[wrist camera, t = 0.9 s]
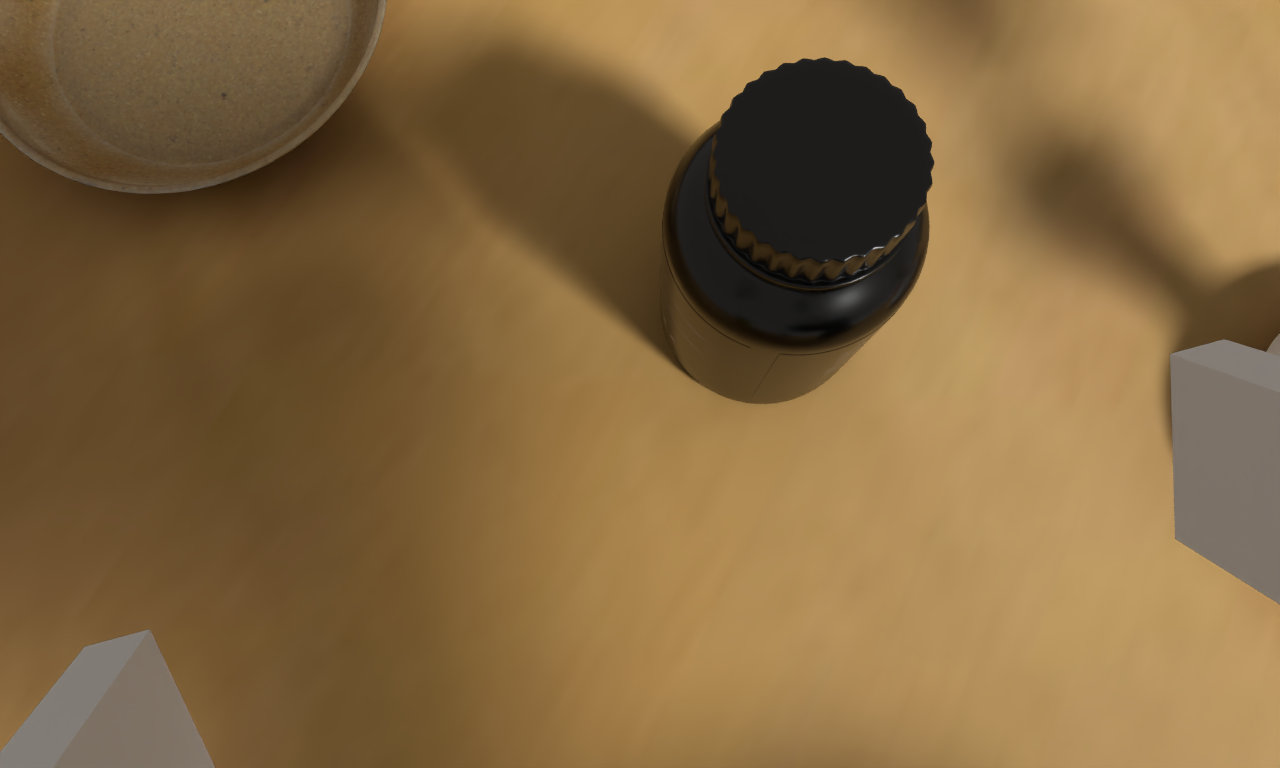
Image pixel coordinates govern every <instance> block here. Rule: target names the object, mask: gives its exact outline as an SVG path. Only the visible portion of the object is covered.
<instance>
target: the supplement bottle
mask: <svg viewBox="0 0 1280 768" xmlns="http://www.w3.org/2000/svg"><path fill="white" fill-rule="evenodd" d="M931 147H932V142H931V140H930V138H929V137H928V135H927V134H926V123H925V122H924V121H923V120H922V119H921V118H920V117H919V116H918V113H917V109H916V106H915V105H914V104H913V103H912V102H910V101H909V100H907V99H906V98H905V96H904V93H903V91H902V90H901V89H899V88H897V87H895V86H893V85H891V84H890V82H889V81H888V80H887V79H886V77H884V76H881V75H877V74H874V73H873V72H871V70H869V69H868V68H867V67H863V66H854V65H853V64H851V63H850V62H848V61H846V60H843V61H833V60H831V59H828V58H825V57H824V58H820V59H817V60H811V59H804V58H803V59H801V60H799V61H798V62H796V63H783V64H782V65H780V66H779V67H778V68H777V69H776V70H770V71H766V72H764V73H763V74H762V75H761V76H760V78H759V79H758V80H755V81H752V82H749V83H747V85H746V86H745V88H744V90H743V92H742V93H740V94H738V95H737V96H735V97H734V98H733V99H732V101H731V104H730V108H729V109H728V110H727V111H726V112H725V113H724V114H723V115H722V116H721V119H720V121H718V122H717V123H715V124H714V125H713V126H712V127H710V128H709V129H708V130H706V131H705V132H704V133H703V134H702V135H701V136H700V137H699V138H698V139H697V140H696V141H695V142H694V144H693V145H692V146H691V147H690V148H689V150H688V151H687V152H686V154H685V155H684V157H683V158H682V160H681V161H680V163H679V165H678V167H677V168H676V170H675V173H674V175H673V177H672V179H671V182H670V185H669V188H668V192H667V196H666V201H665V206H664V212H663V221H662V256H661V315H662V322H663V327H664V331H665V334H666V337H667V340H668V342H669V345H670V347H671V349H672V351H673V353H674V355H675V356H676V358H677V359H678V361H679V362H680V364H681V365H682V366H683V367H684V368H685V370H686V371H687V372H688V373H689V374H690V375H691V376H692V377H693V378H694V379H696V380H697V381H698V382H699V383H701V384H702V385H703V386H705V387H706V388H708V389H709V390H711V391H713V392H715V393H717V394H719V395H721V396H724V397H726V398H729V399H732V400H736V401H740V402H745V403H753V404H771V403H779V402H784V401H788V400H791V399H795V398H797V397H800V396H802V395H805V394H807V393H809V392H810V391H812V390H814V389H816V388H817V387H819V386H820V385H822V384H823V383H824V382H826V381H827V380H828V379H829V378H830V377H832V376H833V375H834V374H835V373H836V372H837V371H838V370H839V369H840V368H841V367H842V366H843V365H844V364H845V363H846V362H847V361H848V360H849V359H850V358H851V357H852V356H853V355H854V354H855V353H856V352H857V351H858V350H859V349H860V348H861V347H862V346H863V345H864V344H865V343H866V342H867V341H868V340H869V339H870V338H871V337H872V336H873V335H874V334H875V333H876V332H877V331H878V330H879V329H880V328H881V327H882V326H883V325H884V324H885V323H886V322H887V321H888V320H889V319H890V318H891V317H892V316H893V315H894V314H895V313H896V312H897V310H898V309H899V308H900V307H901V305H902V304H903V303H904V301H905V300H906V299H907V297H908V295H909V294H910V292H911V291H912V289H913V288H914V286H915V284H916V282H917V280H918V278H919V276H920V273H921V270H922V268H923V265H924V262H925V258H926V254H927V248H928V242H929V227H930V226H929V212H928V206H927V201H926V198H927V192H928V191H929V189H930V188H931V186H932V177H931V171H932V169H933V166H934V160H933V157H932V155H931V153H930V151H931Z"/></svg>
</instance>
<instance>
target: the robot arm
mask: <svg viewBox="0 0 1280 768" xmlns="http://www.w3.org/2000/svg"><path fill="white" fill-rule="evenodd" d="M1170 369H1171V405H1172V442H1173V479H1174V515H1175V539H1176V540H1178V541H1179V542H1181V543H1183V544H1184V545H1186V546H1187V547H1189V548H1191V549H1192V550H1194V551H1195V552H1197V553H1199V554H1200V555H1202V556H1203V557H1205V558H1207V559H1208V560H1210V561H1211V562H1213V563H1215V564H1216V565H1218V566H1219V567H1221V568H1223V569H1224V570H1226V571H1227V572H1229V573H1231V574H1232V575H1234V576H1235V577H1237V578H1239V579H1240V580H1242V581H1243V582H1245V583H1247V584H1248V585H1250V586H1251V587H1253V588H1254V589H1256V590H1258V591H1259V592H1261V593H1262V594H1264V595H1266V596H1267V597H1269V598H1270V599H1272V600H1274V601H1275V602H1277V603H1278V604H1280V356H1278V355H1274V354H1271V353H1268V352H1265V351H1261V350H1258V349H1255V348H1252V347H1248V346H1245V345H1242V344H1238V343H1235V342H1232V341H1229V340H1225V339H1223V340H1220V341H1216V342H1212V343H1208V344H1205V345H1201V346H1197V347H1194V348H1190V349H1186V350H1183V351H1179V352H1175V353H1171V354H1170ZM0 768H215V766H214V764H213V762H212V760H211V758H210V755H209V753H208V751H207V749H206V747H205V745H204V743H203V741H202V739H201V736H200V734H199V732H198V730H197V728H196V726H195V724H194V722H193V719H192V717H191V715H190V713H189V711H188V709H187V707H186V705H185V702H184V700H183V698H182V696H181V694H180V692H179V690H178V688H177V685H176V683H175V681H174V679H173V677H172V675H171V673H170V671H169V669H168V666H167V664H166V662H165V660H164V658H163V656H162V654H161V652H160V649H159V647H158V645H157V643H156V641H155V639H154V637H153V635H152V632H151V630H150V629H149V630H145V631H141V632H138V633H134V634H130V635H126V636H123V637H119V638H115V639H112V640H108V641H104V642H100V643H97V644H93V645H89V646H86V647H84V648H83V649H82V651H81V652H80V653H79V654H78V656H77V657H76V658H75V659H74V661H73V662H72V663H71V664H70V666H69V667H68V668H67V669H66V671H65V672H64V673H63V674H62V676H61V677H60V678H59V679H58V681H57V682H56V683H55V684H54V686H53V687H52V688H51V689H50V691H49V692H48V693H47V694H46V696H45V697H44V698H43V699H42V701H41V702H40V703H39V704H38V706H37V707H36V708H35V709H34V711H33V712H32V713H31V714H30V716H29V717H28V718H27V719H26V720H25V722H24V723H23V724H22V725H21V727H20V728H19V729H18V730H17V732H16V733H15V734H14V735H13V737H12V738H11V739H10V740H9V742H8V743H7V744H6V745H5V747H4V748H3V749H2V750H1V752H0Z"/></svg>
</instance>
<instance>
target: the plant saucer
mask: <svg viewBox="0 0 1280 768" xmlns="http://www.w3.org/2000/svg"><path fill="white" fill-rule="evenodd" d="M386 1H387V0H0V133H1V134H2V135H4V137H5V138H6V139H8V140H9V141H10V142H11V143H12V144H13V145H14V146H15V147H17V148H18V149H19V150H20V151H22V152H23V153H24V154H25V155H27V156H29V157H30V158H31V159H32V160H34V161H35V162H37V163H39V164H40V165H42V166H44V167H46V168H48V169H50V170H52V171H54V172H56V173H58V174H60V175H62V176H64V177H67V178H69V179H72V180H74V181H77V182H80V183H83V184H86V185H90V186H94V187H98V188H102V189H107V190H112V191H118V192H126V193H139V194H161V193H176V192H184V191H191V190H196V189H201V188H205V187H209V186H214V185H217V184H221V183H224V182H227V181H230V180H233V179H236V178H239V177H241V176H244V175H246V174H249V173H251V172H253V171H256V170H258V169H260V168H262V167H264V166H266V165H268V164H270V163H272V162H274V161H275V160H277V159H279V158H281V157H282V156H284V155H285V154H287V153H288V152H290V151H292V150H293V149H295V148H296V147H297V146H299V145H300V144H301V143H303V142H304V141H305V140H307V139H308V138H309V137H310V136H311V135H313V134H314V133H315V132H316V131H317V130H318V129H319V128H320V127H321V126H323V125H324V124H325V123H326V122H327V121H328V120H329V118H330V117H331V116H332V115H333V114H334V113H335V112H336V111H337V109H338V108H339V107H340V106H341V105H342V103H343V102H344V101H345V100H346V98H347V97H348V96H349V94H350V93H351V91H352V90H353V88H354V87H355V85H356V84H357V82H358V81H359V79H360V77H361V76H362V74H363V72H364V70H365V69H366V67H367V65H368V63H369V61H370V58H371V56H372V54H373V52H374V49H375V47H376V44H377V41H378V38H379V35H380V32H381V28H382V24H383V19H384V15H385V7H386Z"/></svg>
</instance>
